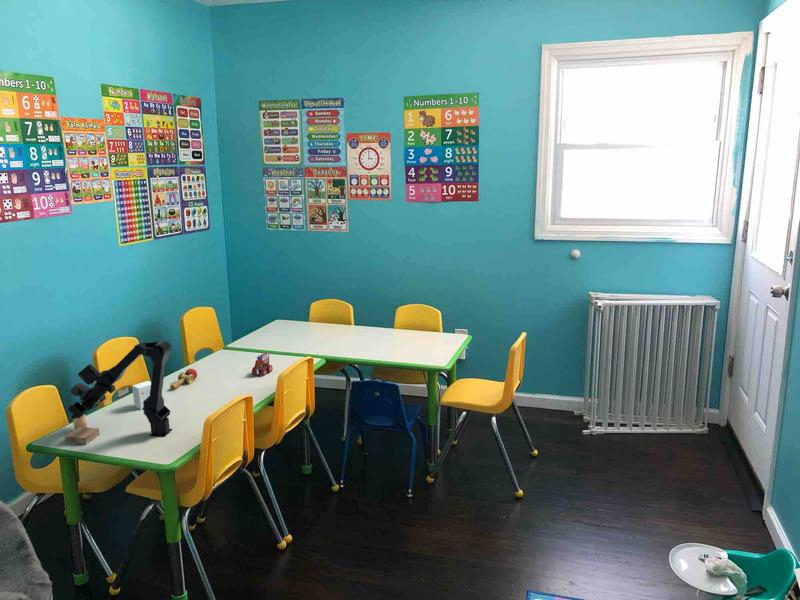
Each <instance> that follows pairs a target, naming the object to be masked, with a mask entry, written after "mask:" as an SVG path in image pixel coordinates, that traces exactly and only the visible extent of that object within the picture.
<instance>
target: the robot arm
mask: <svg viewBox="0 0 800 600" xmlns="http://www.w3.org/2000/svg"><path fill="white" fill-rule="evenodd" d="M171 352H172V345H171V344H170V342H169V341H166V340H160V341H150V342H149V341H148V342H146V341H145V342H144V341H142V342H141V341H140V342H138V343H137V344H136V345H134V346H133V348H132V349H130V351H129V352H128V353H127V354H126V355H125V356H124V357H123V358H122V359H121V360H120V361H119V362H118V363H117V364H116V365H113V366H112V367H111V368H109V369H107V370H102V371H101V372H100V371H98V369H96V368H95V367H94V366H93V365H92V364H91V363H88V365H86V366H85V367H84V368H83V369H82V370H80V371H79V372H78V373H77V377H79V378H80V379H81V380H82V381H83V382H84V383H85V384H84V383H82V382H78V383H76V384H74V385H73V387H71V388H70V394H71V395H72V396H74V397H79V400H80V401H81V402H79V401H74V402H72V403H71V404H70V405H69V406H68V407H67V410H68V412H70V413H71V414H72V413H73V414H72V415H71V419H72V420H73V419H75V418H81V417H82V416H83V415H85V414H86V415H87V412H88V411H91V410H92V409H95V408H96V407H98V406H99V404H102V403H103V402H104V401H105V400H106V398H107V396H106V394H107V393H109V394H112V393H113V392H115V391H116V390H117V389H116V385H115V383H117V382H118V381H119V380H121V379H122V377H123V376H124V374H125V372H126V370H127V369H128V368H129V367H130V366H131V365H133V363H134V362H135V361H136V360H137V359H138V358H140V357H141V355H142V356H145V357H148V358H149V357H150V359H151V362H152V374H151V380H150V382H151V388H150V396H149V397H148V398H146V399H145V400H144V402H143V409H142V411H143V415H145V417H146V419H147V421H148V422H149V424H150V432H151V433H150V434H149V435H150V436H151V437H166V436H167V435H169V434H170V433H171V431H172V430H173V429H172V428H170V427H171V426H170V418H169V416H170V415H171V410H170V409H169V408H168V407H167V406H166V405H165V399H164V397H163V395H162V394H163V388H164V378H165V372H166V371H165V370H166V363H167V361H168V360H169V358H170V355H171ZM93 384H94V385H93ZM89 385H93V386H91V387H89ZM81 404H82V405H81Z"/></svg>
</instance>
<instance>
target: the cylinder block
mask: <svg viewBox="0 0 800 600" xmlns="http://www.w3.org/2000/svg"><path fill="white" fill-rule="evenodd" d="M80 404H81V403H80ZM81 405H82V404H81ZM71 414H73V413H71ZM86 415H87V413H86V414H85V415H83V416H82V417H81V418H75V419H72V421H73V428H74V429H73V430H75V429H77V428H78V427H86V428H88V422H87V417H86Z"/></svg>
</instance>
